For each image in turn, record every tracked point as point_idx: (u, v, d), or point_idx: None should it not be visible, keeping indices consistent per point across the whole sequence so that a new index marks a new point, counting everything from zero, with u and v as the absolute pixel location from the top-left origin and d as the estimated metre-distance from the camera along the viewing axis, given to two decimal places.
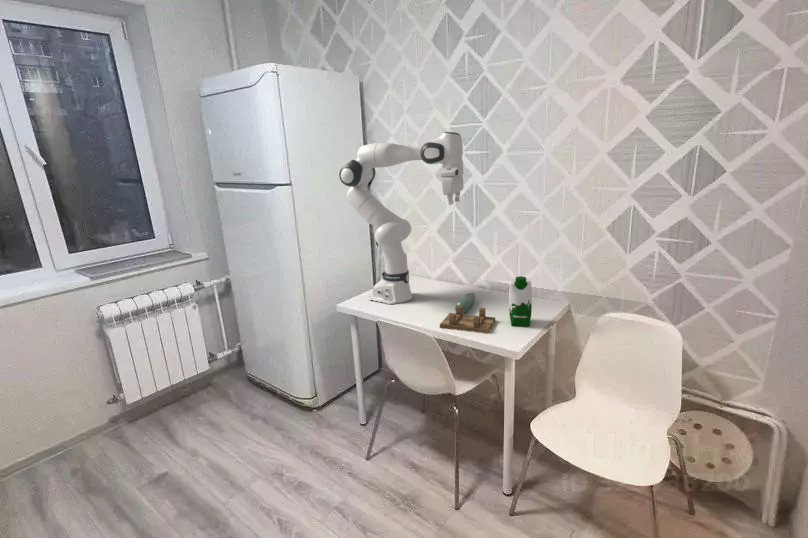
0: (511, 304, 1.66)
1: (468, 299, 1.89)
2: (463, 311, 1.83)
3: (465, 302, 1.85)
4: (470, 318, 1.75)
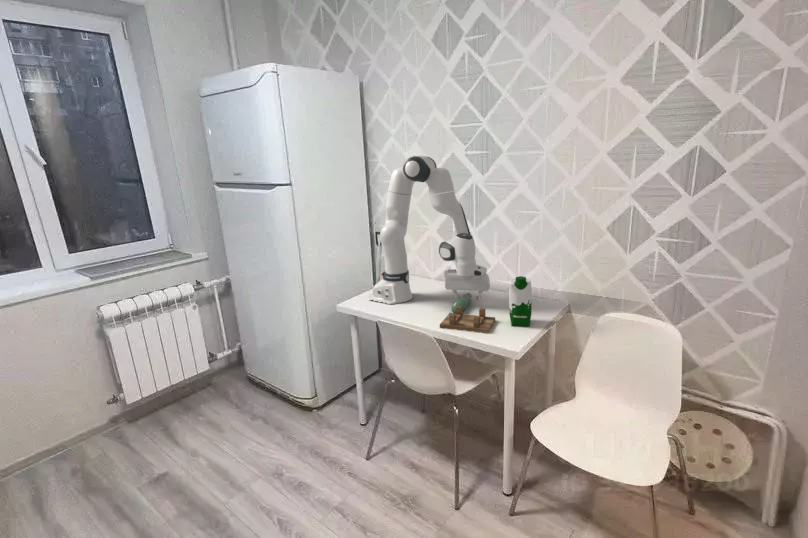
0: (511, 304, 1.66)
1: (460, 298, 1.90)
2: None
3: (457, 302, 1.87)
4: (470, 318, 1.75)
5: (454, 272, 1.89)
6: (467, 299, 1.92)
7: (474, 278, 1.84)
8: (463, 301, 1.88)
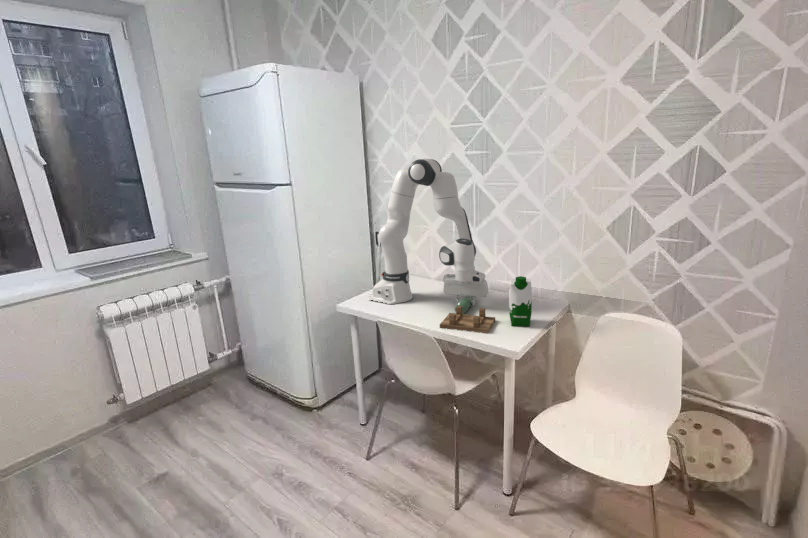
0: (511, 304, 1.66)
1: (463, 298, 1.89)
2: (464, 308, 1.82)
3: (460, 301, 1.85)
4: (470, 318, 1.75)
5: (453, 277, 1.89)
6: (471, 299, 1.90)
7: (472, 284, 1.84)
8: (467, 301, 1.87)
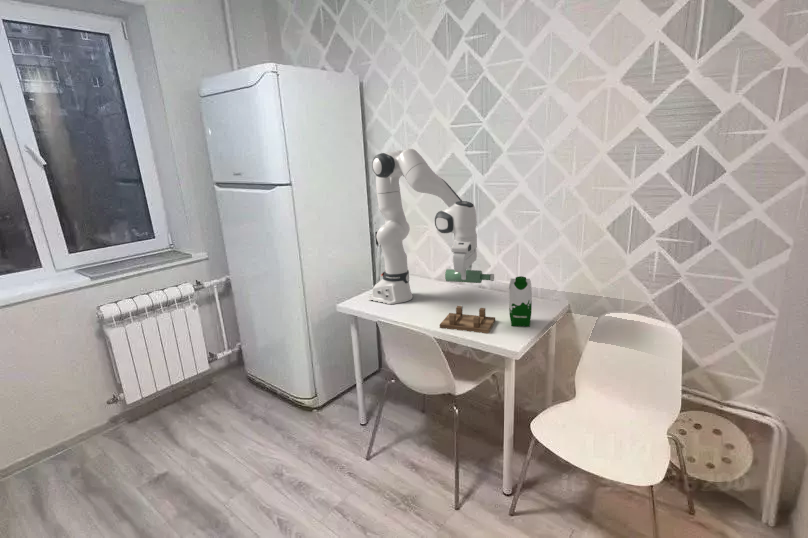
0: (511, 304, 1.66)
1: None
2: None
3: None
4: (470, 318, 1.75)
5: None
6: (469, 274, 1.64)
7: None
8: (458, 272, 1.67)
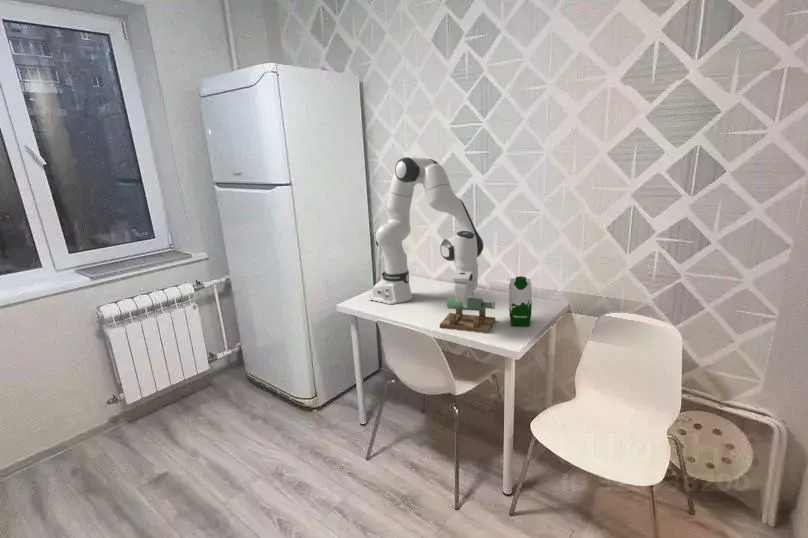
0: (511, 304, 1.66)
1: None
2: None
3: None
4: (470, 318, 1.75)
5: None
6: (470, 302, 1.68)
7: None
8: None
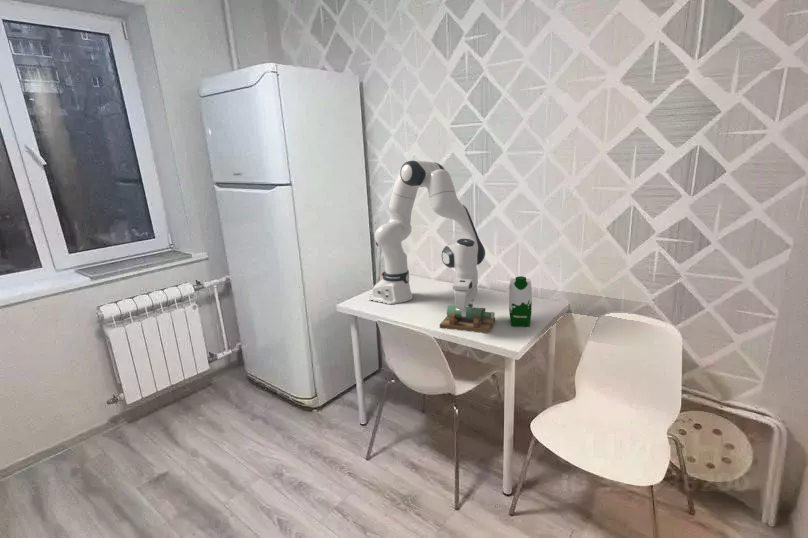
0: (511, 304, 1.66)
1: None
2: None
3: None
4: None
5: None
6: (470, 311, 1.69)
7: None
8: None
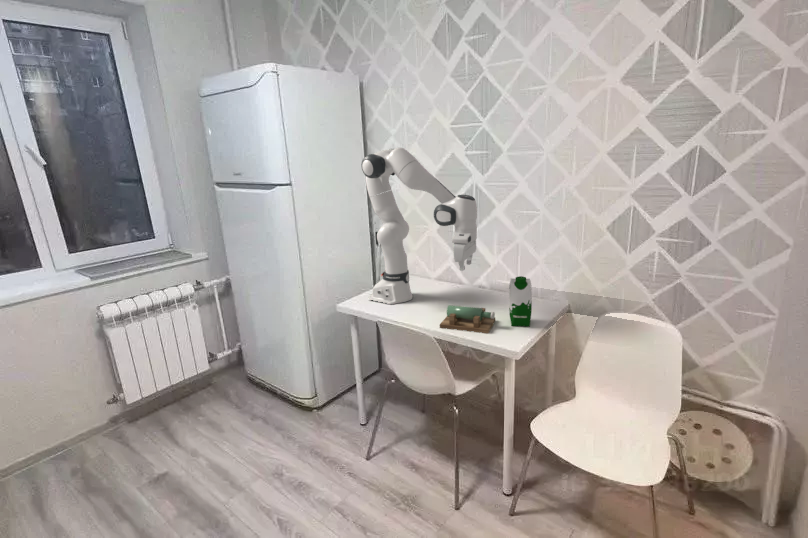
0: (511, 304, 1.66)
1: None
2: None
3: None
4: None
5: None
6: (470, 311, 1.69)
7: None
8: (460, 309, 1.71)
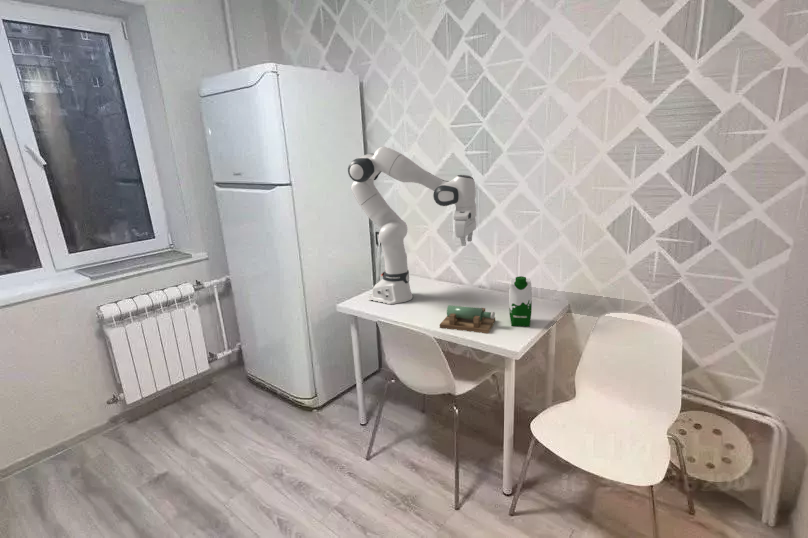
0: (511, 304, 1.66)
1: None
2: None
3: None
4: None
5: None
6: (470, 311, 1.69)
7: None
8: (460, 309, 1.71)
